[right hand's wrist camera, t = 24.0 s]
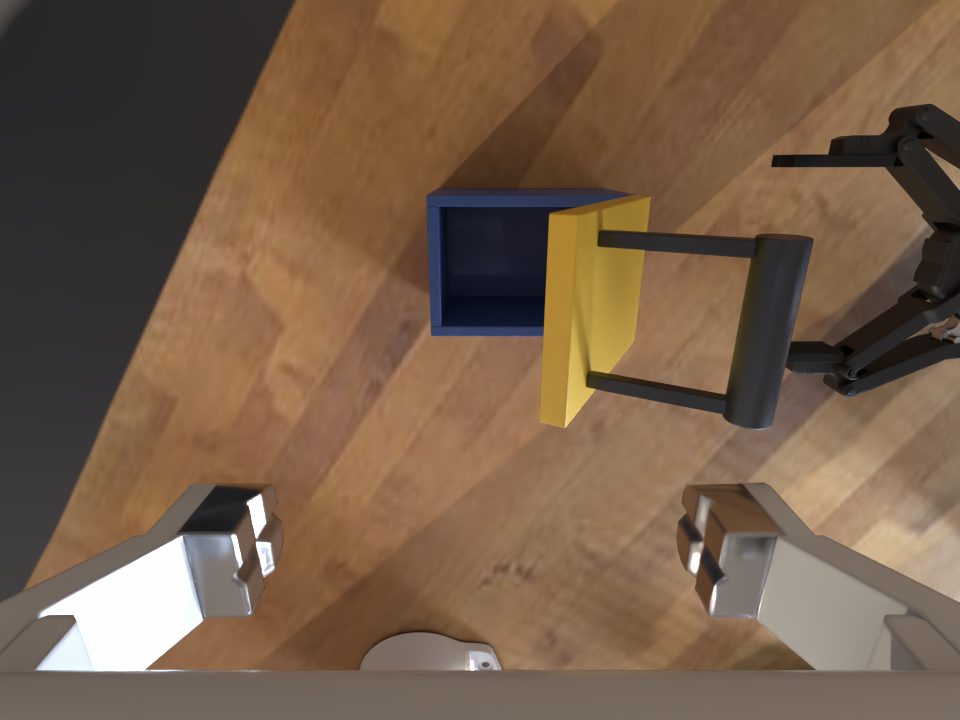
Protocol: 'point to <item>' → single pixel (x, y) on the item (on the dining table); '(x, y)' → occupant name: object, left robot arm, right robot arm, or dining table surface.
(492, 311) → the chest
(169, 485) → the dining table surface
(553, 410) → the lid
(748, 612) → the right robot arm
